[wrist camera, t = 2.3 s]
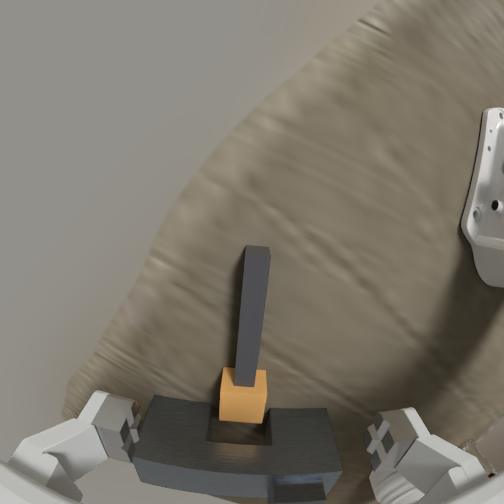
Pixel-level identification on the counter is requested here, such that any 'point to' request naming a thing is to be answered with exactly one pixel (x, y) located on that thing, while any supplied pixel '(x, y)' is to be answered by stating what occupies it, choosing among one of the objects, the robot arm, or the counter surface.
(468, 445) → the beer glass
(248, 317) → the plug
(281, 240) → the counter surface
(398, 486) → the honey pot
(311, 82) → the counter surface
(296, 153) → the counter surface
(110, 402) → the robot arm
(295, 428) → the grey block
